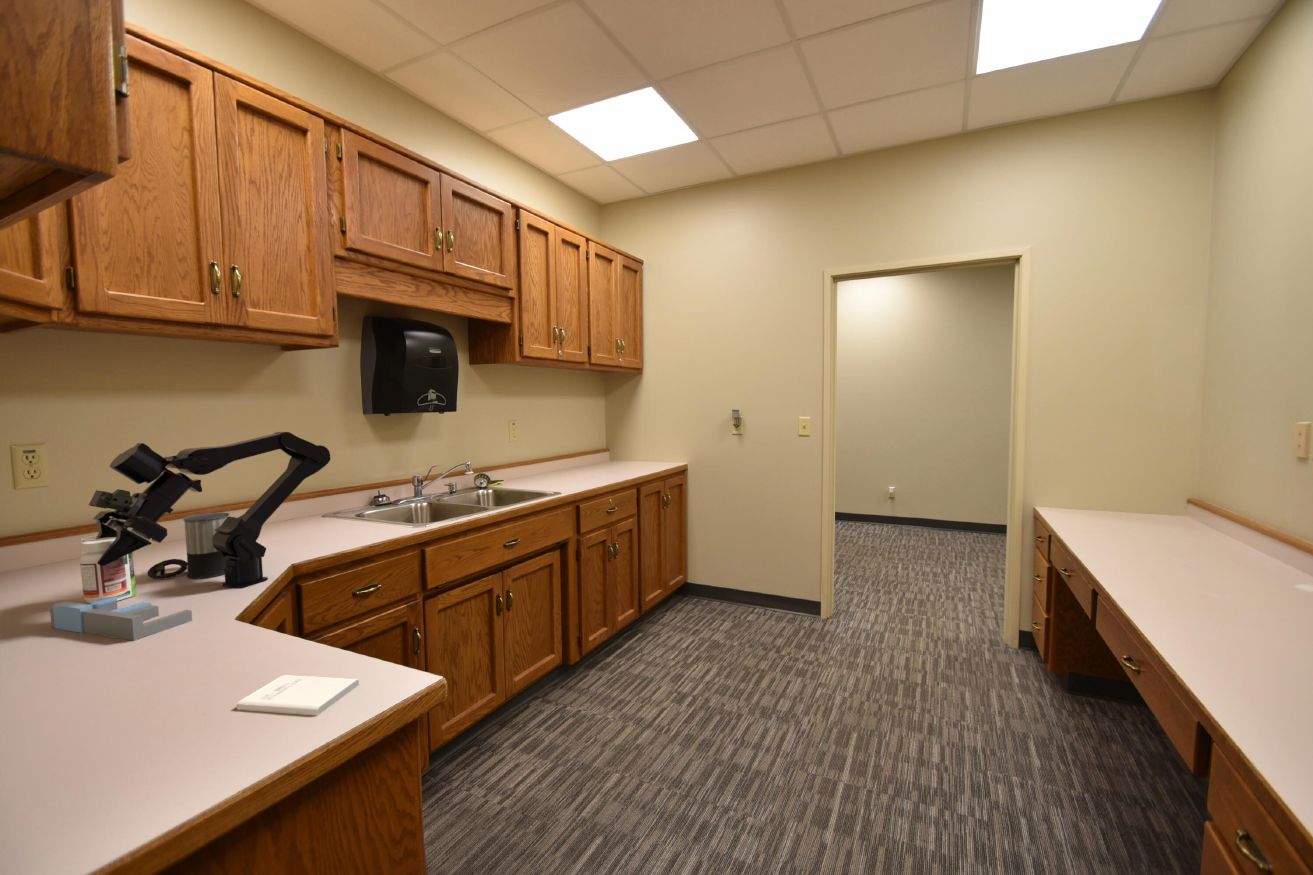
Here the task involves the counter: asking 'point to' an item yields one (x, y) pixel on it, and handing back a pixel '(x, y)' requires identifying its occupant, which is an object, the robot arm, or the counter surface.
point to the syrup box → (129, 574)
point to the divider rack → (114, 619)
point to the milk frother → (197, 549)
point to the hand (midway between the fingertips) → (93, 562)
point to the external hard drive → (298, 695)
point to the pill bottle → (101, 572)
